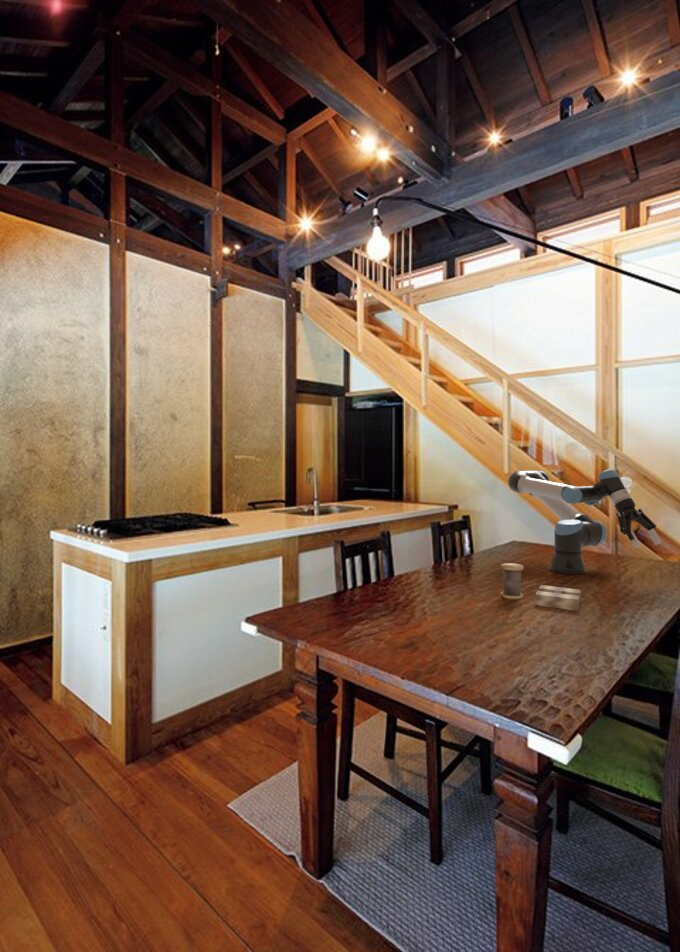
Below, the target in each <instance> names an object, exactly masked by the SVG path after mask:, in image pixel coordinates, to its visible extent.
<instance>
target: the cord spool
mask: <svg viewBox="0 0 680 952" xmlns="http://www.w3.org/2000/svg"><path fill="white" fill-rule="evenodd" d="M500 567H501V569H502V570H503V575H502V576H503V577H502V578H503V579H502V580H503V581H502V582H503V585H502V586H503V587H502V590H503V591H501V592H500V596H501V598H504V599H508V600H521V599H523V598H524V594H523V593H522V590H521V589H522V571H523V570H524V565H522V564H519V563H512V562H510V563H509V562H507V563H501V566H500Z"/></svg>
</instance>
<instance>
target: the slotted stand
mask: <svg viewBox="0 0 680 952" xmlns="http://www.w3.org/2000/svg"><path fill="white" fill-rule="evenodd" d="M581 593H582V591H581V589H578V588H577V589H576V588H569V587H561V586H560V587H559V586H552V585H545V584H540V586H539V587H538V590H537V591H536V593H535V602H534V604H535V606H540V607H547V608H556V609H560V610H568V611H576V612H578V611H579V607H580V606H579V605H580V604H581V603H580V602H581Z"/></svg>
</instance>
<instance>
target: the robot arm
mask: <svg viewBox="0 0 680 952" xmlns="http://www.w3.org/2000/svg"><path fill="white" fill-rule="evenodd" d="M597 478H598V481H597V482H596V483H594V484H593V485H586V486H585V485H583V486H577V485H569V484H565V483H560V482H554V481H551V480H550V477H549V475H548V474H547V473H546V472H545V471H543V470H537V469H534V470H517V471H514V472H513V473H511V474H510V475H509V477H508V480H507V482H508V483H507V485H508V487H509V489H510V490H511V491H513V492H515V493H520V494H527V493H528V494H529V495H530V497H532V498H533V499H539V501H540V502H542V503H543V504H544V505H545V506H546V507H547V508H548V509H549V510H550V511H551V512H552V513H553V514H554V515H555V516H557V518H558V519H560V520H559V521H557V522H556V523H555V526H554V532H553V533H554V547H553V548H554V549H553V550H554V553H553V556H552V559H551V561H550V563H549V569H550V571H552V572H555V573H559V574H565V575H583V574H585V573H586V568H587V567H586V565H585V562H584V558H583V555H582V554H583V553H582V552H583V547H584V548H585V547H595V546H599V545H601V544H603V543H604V542H605V540H606V539H607V536H608V535H607V528H606V526H605V524H604V523H603V522H601V521H599V520H593V519H592V518H591V517H589V515H587V514H585V513H583V514H582V513H580V512H579V511H578V510H577V509H576V508H575V507H573V505H572V504H580V503H581V504H582V503H584V504H585V505H587V506H593V505H596V504H598V503H600V502H601V501H602V500H604V499H605V498H607V497H608V496H609V499H610V500H611V502H612V504H613V505H614V508H615V509H616V511H617V513H616V516H617V519H618V524H619V531H620V533H622V534H623V535H624V536H625V535H626V536H627V538H628V540H629V541H630V544H632V546H633V548H634V549H637V548H638V547H641V543H640V541H639V539H638V537H637V535H635V534H636V533H635V532H634V531H633V530H632V521H633V522H636V523H638V524H640V525H641V526H642V527H644V528H645V529H646V530H647V533H648V535H649V536H650V538H651V540H652V541H653V543H654V546H657V545H659V544H661V543H662V539H661V538H660V537H659V534H658V533H657V532H656V531H657V530H655V529H656V528H657V524H655V523H654V522H653V521H652V520H651V519H650V518H649V517H648V516H647V515H646V514H645V513H644V511H643V510H642V508H638V509H636V508H635V507H636V503H635V501H634V499H633V498H632V497H631V494H630V493H629V491H628V490H627V488H626V487H625V485H624V483H623V481H622V479H621V478H620V475H618V473H617V472H616V470H614V469H613V468H612V469H606V470H603V471H602V472H600V473H599V474H598V475H597Z"/></svg>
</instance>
